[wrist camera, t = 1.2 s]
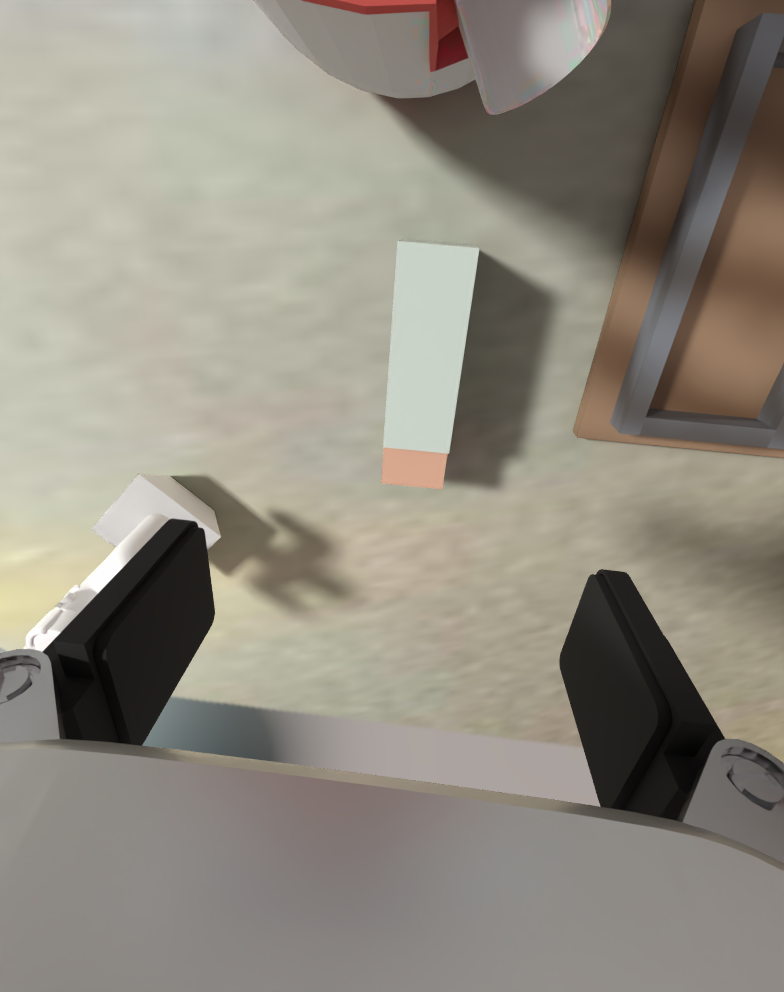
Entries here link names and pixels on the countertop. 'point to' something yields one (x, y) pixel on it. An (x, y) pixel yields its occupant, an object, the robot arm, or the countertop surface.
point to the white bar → (426, 358)
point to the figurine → (127, 542)
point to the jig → (704, 254)
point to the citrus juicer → (444, 43)
